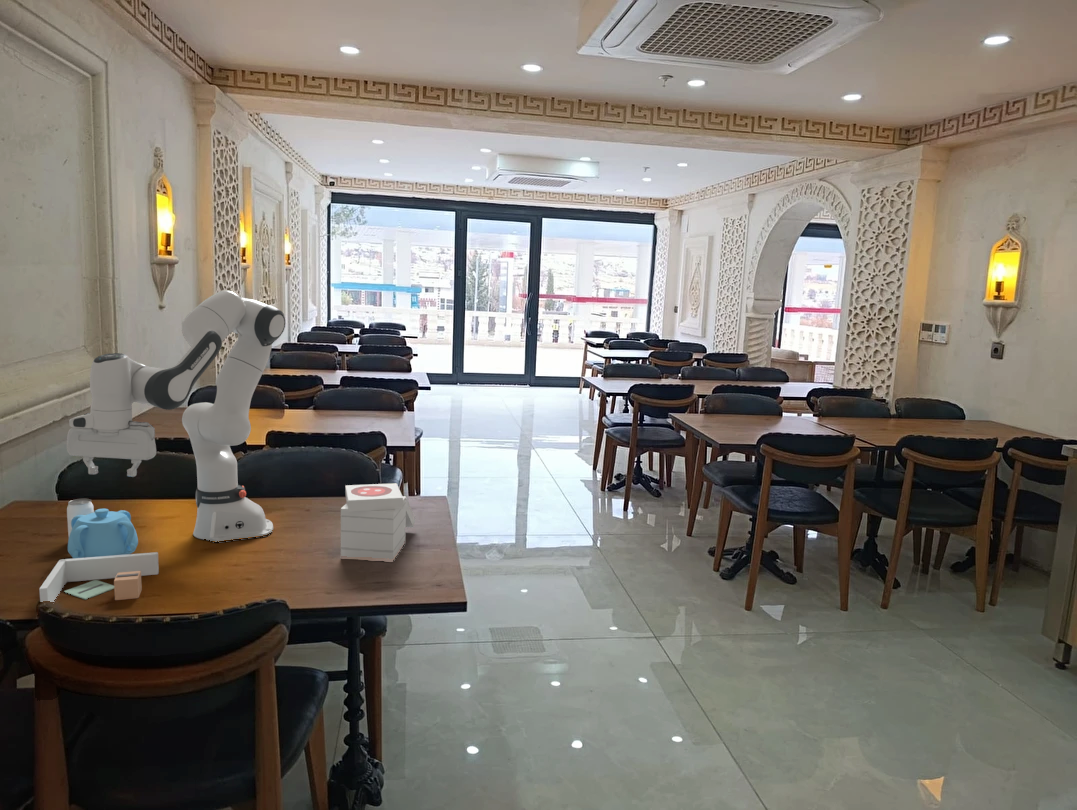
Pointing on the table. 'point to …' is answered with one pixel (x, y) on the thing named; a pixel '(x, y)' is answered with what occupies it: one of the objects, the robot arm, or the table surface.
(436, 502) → the table surface
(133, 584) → the cube
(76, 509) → the can
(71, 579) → the white l-shaped bracket
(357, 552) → the pizza boxes
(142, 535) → the table surface
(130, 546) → the decorative pot
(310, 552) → the table surface
